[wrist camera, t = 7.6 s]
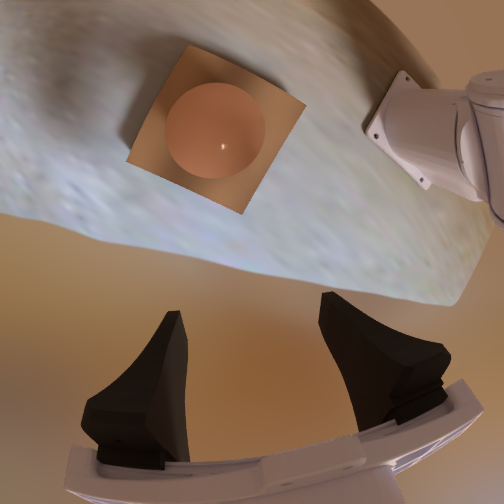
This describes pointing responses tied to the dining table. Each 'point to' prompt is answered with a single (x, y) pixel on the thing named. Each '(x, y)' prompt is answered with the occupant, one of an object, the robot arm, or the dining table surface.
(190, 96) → the tan rounded cylinder
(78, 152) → the dining table surface
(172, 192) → the dining table surface
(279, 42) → the dining table surface
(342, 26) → the dining table surface
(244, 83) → the walnut board
